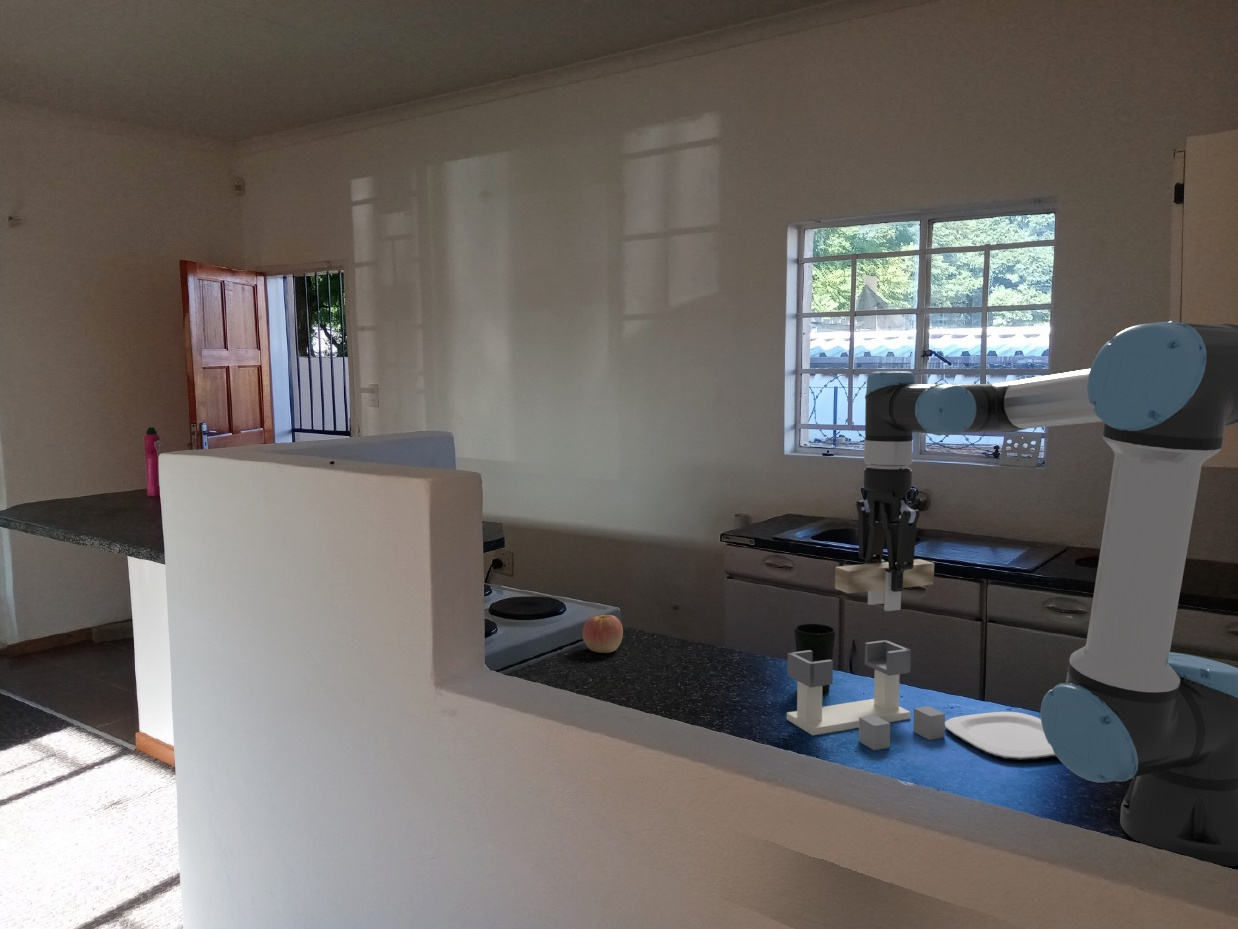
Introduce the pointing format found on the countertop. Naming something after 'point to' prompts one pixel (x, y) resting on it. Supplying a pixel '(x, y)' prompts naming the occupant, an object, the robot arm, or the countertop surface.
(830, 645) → the cup
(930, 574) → the rail
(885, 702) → the bracket stand
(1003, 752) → the plate
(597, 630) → the apple
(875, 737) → the rests
